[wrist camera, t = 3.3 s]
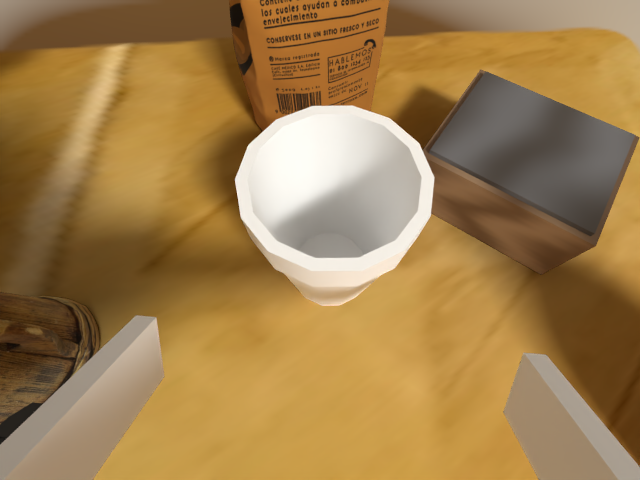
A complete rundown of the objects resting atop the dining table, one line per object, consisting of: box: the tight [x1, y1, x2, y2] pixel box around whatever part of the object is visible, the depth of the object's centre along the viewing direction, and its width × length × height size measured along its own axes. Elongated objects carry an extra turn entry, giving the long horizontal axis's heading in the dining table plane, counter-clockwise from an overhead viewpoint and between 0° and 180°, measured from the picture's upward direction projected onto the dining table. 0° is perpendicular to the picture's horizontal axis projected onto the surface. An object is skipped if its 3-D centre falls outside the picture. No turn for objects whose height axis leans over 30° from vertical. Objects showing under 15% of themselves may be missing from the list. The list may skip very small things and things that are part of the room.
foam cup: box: [235, 105, 434, 306], centre depth 22 cm, size 10×9×13 cm
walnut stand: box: [422, 70, 639, 274], centre depth 28 cm, size 13×11×6 cm
